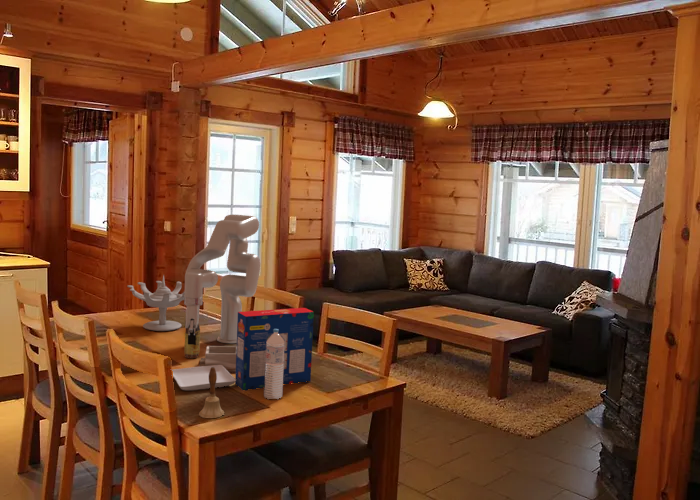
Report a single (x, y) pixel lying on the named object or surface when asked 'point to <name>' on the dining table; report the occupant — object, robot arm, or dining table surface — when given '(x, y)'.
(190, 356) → the sauce bottle
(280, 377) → the water bottle
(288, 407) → the dining table surface
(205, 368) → the salad plate
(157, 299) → the candelabra
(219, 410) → the hand bell
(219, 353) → the bottle caddy
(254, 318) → the blue cardboard box
